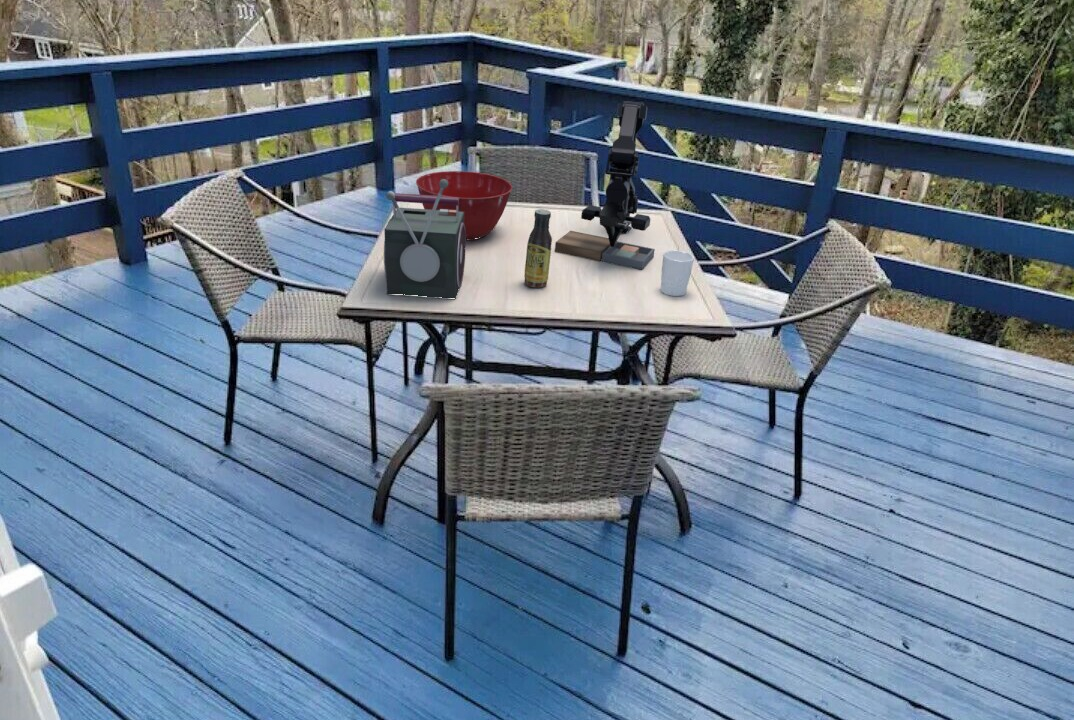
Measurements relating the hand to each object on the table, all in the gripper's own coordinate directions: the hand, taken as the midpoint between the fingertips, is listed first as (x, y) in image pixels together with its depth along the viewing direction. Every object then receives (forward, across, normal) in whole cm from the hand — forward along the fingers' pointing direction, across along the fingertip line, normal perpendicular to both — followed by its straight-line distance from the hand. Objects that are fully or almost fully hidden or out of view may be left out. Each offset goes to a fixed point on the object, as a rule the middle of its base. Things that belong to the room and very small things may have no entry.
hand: (612, 246), depth 215 cm
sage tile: (+1, +4, 0) cm, 4 cm away
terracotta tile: (+1, +4, +4) cm, 6 cm away
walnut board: (+4, -9, +2) cm, 10 cm away
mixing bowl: (+4, -46, -4) cm, 46 cm away
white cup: (+4, +22, -13) cm, 26 cm away
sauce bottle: (+4, -11, -28) cm, 31 cm away
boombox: (+4, -35, -43) cm, 56 cm away
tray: (+4, +4, +3) cm, 6 cm away
